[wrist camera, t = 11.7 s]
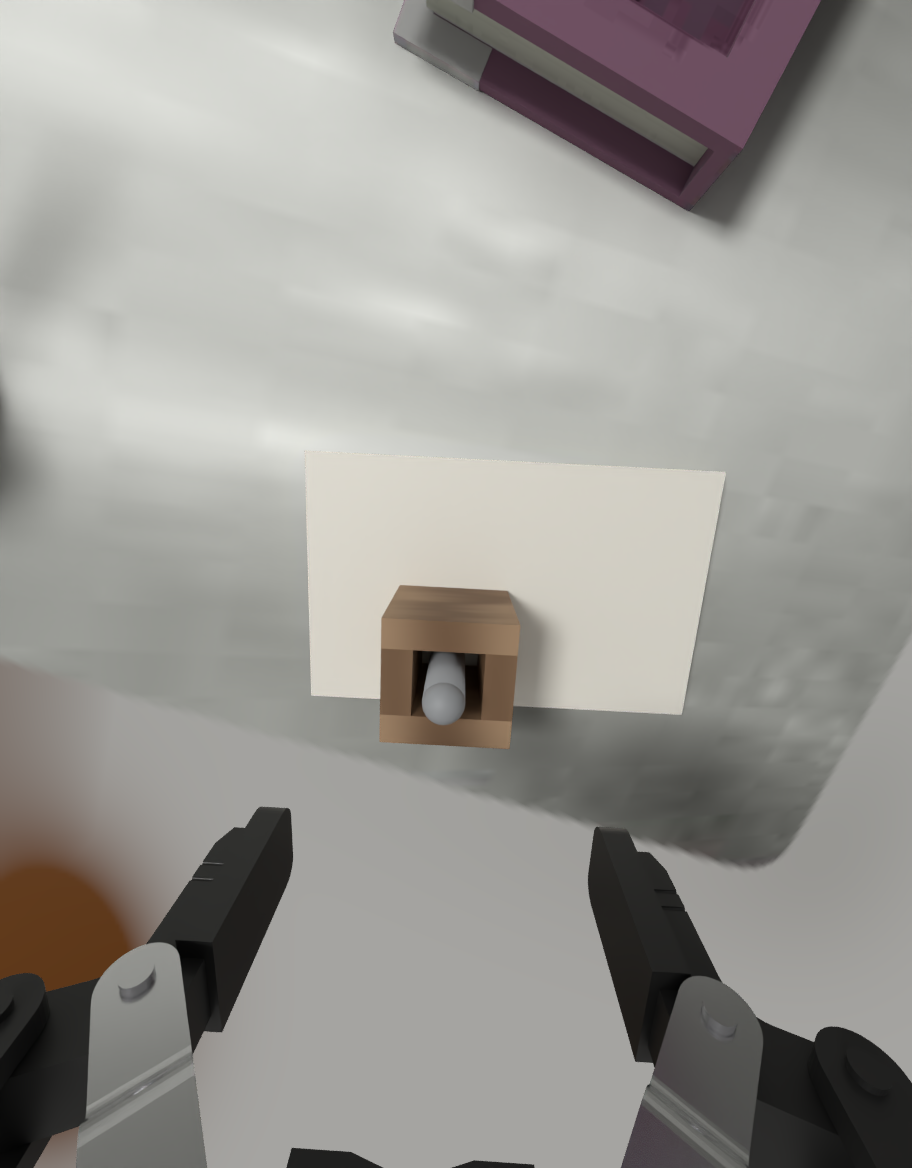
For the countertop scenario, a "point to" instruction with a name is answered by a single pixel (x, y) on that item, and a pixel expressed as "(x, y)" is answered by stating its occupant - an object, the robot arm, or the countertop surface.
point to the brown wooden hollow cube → (449, 627)
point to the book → (622, 73)
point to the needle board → (514, 572)
